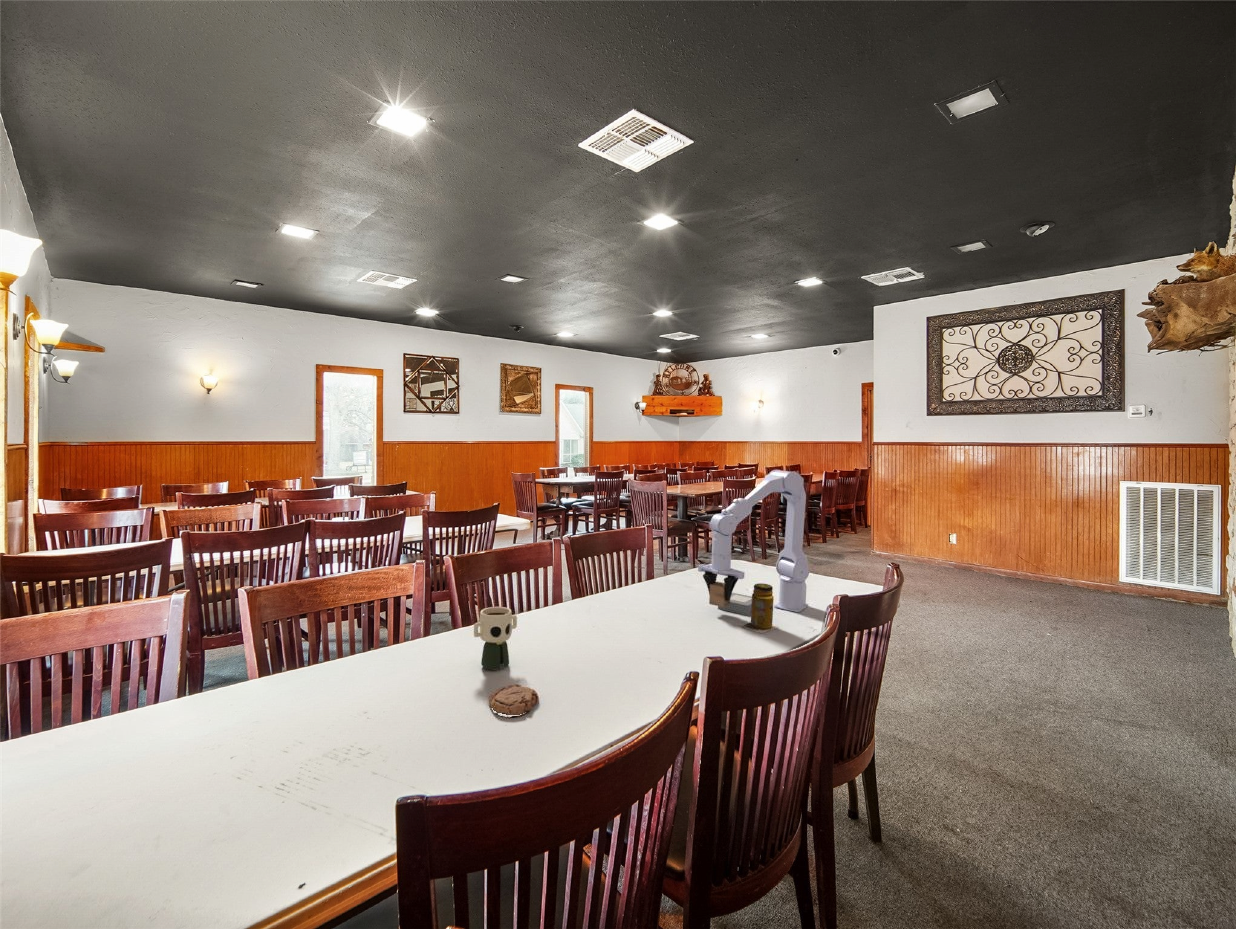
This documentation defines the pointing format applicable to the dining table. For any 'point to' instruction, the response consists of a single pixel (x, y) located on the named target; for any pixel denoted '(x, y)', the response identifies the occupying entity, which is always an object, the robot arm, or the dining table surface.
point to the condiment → (761, 609)
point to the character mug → (495, 635)
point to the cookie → (513, 699)
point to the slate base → (739, 604)
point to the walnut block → (718, 594)
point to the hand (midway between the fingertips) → (719, 598)
